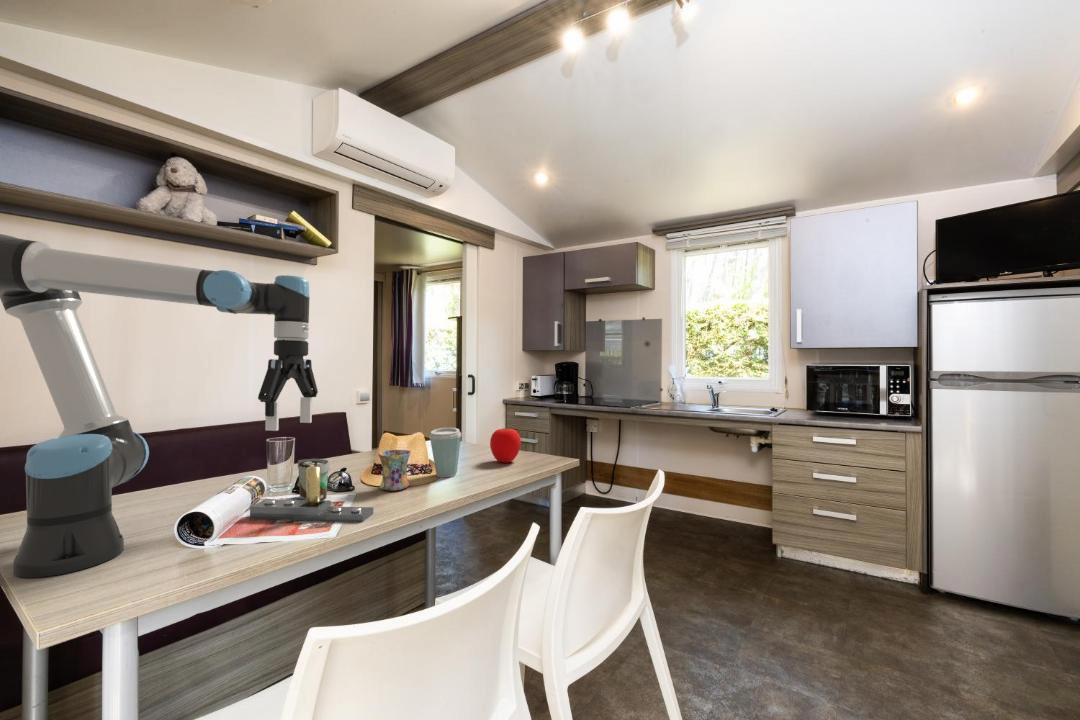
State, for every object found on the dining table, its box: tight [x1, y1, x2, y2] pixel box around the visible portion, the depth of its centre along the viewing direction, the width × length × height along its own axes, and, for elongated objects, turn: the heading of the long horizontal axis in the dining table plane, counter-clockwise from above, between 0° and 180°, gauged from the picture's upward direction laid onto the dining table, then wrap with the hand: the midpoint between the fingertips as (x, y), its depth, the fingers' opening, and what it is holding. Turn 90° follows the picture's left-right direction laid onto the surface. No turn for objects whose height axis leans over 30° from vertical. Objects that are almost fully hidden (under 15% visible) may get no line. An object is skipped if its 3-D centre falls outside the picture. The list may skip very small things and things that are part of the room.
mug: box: [377, 449, 412, 492], centre depth 141 cm, size 12×9×11 cm
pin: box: [306, 466, 320, 507], centre depth 116 cm, size 3×3×12 cm
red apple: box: [489, 426, 522, 464], centre depth 174 cm, size 11×11×13 cm
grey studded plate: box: [249, 498, 374, 523], centre depth 116 cm, size 28×6×4 cm, turn 86°
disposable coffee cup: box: [428, 427, 462, 478], centre depth 156 cm, size 11×11×15 cm
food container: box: [297, 458, 332, 500], centre depth 132 cm, size 12×6×10 cm, turn 47°
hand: (289, 426), depth 116 cm, fingers open, 13 cm apart
